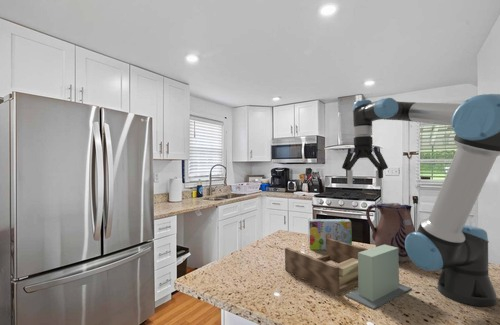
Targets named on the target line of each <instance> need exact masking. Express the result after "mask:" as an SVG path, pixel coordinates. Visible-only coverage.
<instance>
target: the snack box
mask: <svg viewBox="0 0 500 325" xmlns="http://www.w3.org/2000/svg"><path fill="white" fill-rule="evenodd" d="M307 221H308V222H307V224H308V225H307V227H308V228H307V229H308V231H307V232H308V248H309V250H312V251H314V250H315V251H316V250H317V251H318V250H319V251H326V238H330V239H334V240H337V241H341V242H344V243H348V244H351V245H353V242H352V240H353V238H352V236H353V235H352V234H353V233H352V221H351V220H350V219H348V218H347V219H344V218H343V219H341V218H339V219H338V218H335V219H332V218H331V219H328V218H327V219H323V218H322V219H321V218H317V219H315V218H313V219H312V218H311V219H310V218H309V219H307Z"/></svg>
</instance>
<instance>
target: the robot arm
mask: <svg viewBox="0 0 500 325" xmlns="http://www.w3.org/2000/svg"><path fill="white" fill-rule="evenodd" d="M352 113H353V114H352V116H353V120H352V121H353V137H354V138H353V148H350V147H349V148H348V149H347V154H346V156H345V158H344V162H343V164H342V166H341V168H342V169H344V170H345V171H346V172H345V176H346V178H347V181H346V182H347V185H353V184H354V182H353V178H354V177H353V176H354V175H353V174H354V173H353V169H352V168H353V167H354V165H355V164H356V163H357V162H358V160H359V159H368V160H369V161H370V162H371V163H372V165H373V166H374V167H375V168H376V170H375V187H382V179H383V178H384V170H387V169H389V166H388V164H387V163H386V161H385V158H384V156H383V154H382V153H381V148H380V146H373V143H374V142H373V122H374V121H379V120H385V121H387V120H388V121H390V120H391V121H405V122H414V123H415V122H416V123H424V124H431V125H432V124H433V125H441V126H443V125H444V126H448V127H449V126H450V127H453V132H454V133H455V135H454V138H453V142H454V144H455V145H456V150H455V153H454V156H453V158H452V160H451V163H450V165H449V168H448V169H447V172H446V175H445V177H444V180H443V182H442V184H441V186H440V187H441V188H440V190H439V191H438V194H437V197H436V200H435V202H434V204H433V207H432V209H431V211H430V214H429V217H428V218H423V219H422V220H421V221H420V224H419V226H418V227H417V231H416V232H412V233H410V234H409V235H408V236H407V237H406V239H405V249H406V251H407V253H408V256H409V258H410V260H411V262H412V263H413V264H414V265H415V266H416V267H418V268H419V269H421V270H423V271H428V272H429V271H431V272H432V271H434V272H435V271H440V270H441V272H440V276H439V277H438V280H437V291H438V292H439V293H440V294H441V295H443V296H445V297H446V298H448V299H451V300H454V301H456V302H459V303H462V304H464V305H470V306H476V307H492V306H495V305H497V298H498V297H497V293H496V291H495V289H494V285H493V283H492V281H491V279H490V276H489V243H490V242H489V239H488V232H487V231H486V230H485V229H484V228H481V227H477V226H471V225H466V223H467V221H468V218H469V217H470V214H471V212H472V210H473V208H474V206H475V204H476V202H477V199H479V195H480V193H481V192H482V189H483V187H484V185H485V182H486V180H488V176H489V174H490V172H491V170H492V168H493V165H494V164H495V162H496V159H497V157H499V156H500V93H490V94H489V93H487V94H485V93H483V94H477V95H474V96H471V97H470V98H468V99H466V100H465V101H463V102H461V103H448V102H446V103H444V102H414V101H413V102H411V101H397V100H396V99H394V98H393V97H387V98H386V97H385V98H381V99H378V100H376V101H373V102H372V100H370V99H361V100H357V101H355V102H354V103H353V111H352ZM373 153H374V154H373ZM374 155H375V156H374Z"/></svg>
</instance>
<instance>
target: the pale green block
mask: <svg viewBox="0 0 500 325" xmlns="http://www.w3.org/2000/svg"><path fill="white" fill-rule="evenodd" d="M367 249H368V250H365V251H362V252H359V253H358V286H357V289H358V294H359V295H360V296H362V297H364V298H366V299H368V300H371V301H375V300H376V299H378V298H380V297H382V296H384V295H386V294H388V293H390V292H392V291H394V290H396V289H398V288H399V284H400V272H399V271H400V268H399V267H400V266H399V265H400V264H399V254H398V248H397V247H393V246H389V245H385V244H384V245H381V246H378V247H376V246H375V247H372V248H367Z"/></svg>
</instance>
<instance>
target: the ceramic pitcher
mask: <svg viewBox="0 0 500 325" xmlns="http://www.w3.org/2000/svg"><path fill="white" fill-rule="evenodd" d="M372 209H377V210H379V212H380V217H379V220H378V222H377V225H376V227H375V225H374V223H373V221H372V220H371V216H370V212H371V211H372ZM411 212H412V205H409V204H401V203H399V202H397V203H396V202H390V203H389V202H386V203H385V202H384V203H379V204H377V203H375V204H373V203H372V204H370V205H369V206H367V208H366V210H365V217H366V221H367V222H368V225H369V226H370V229H371V231H372V235H371V237H372V240H373V241H374V245H375V247H378V246H381V245H384V244H385V245H389V246H393V247H397V248H398V254H399V262H408V261H410V260H411V259H410V258H409V256H408V253H407V251H406V249H405V239H406V237H407V236H408V235H409V234H410V233H412V232H417V231H416V229H415V226H414V222H413V220H412V219H413V218H412V214H411Z"/></svg>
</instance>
